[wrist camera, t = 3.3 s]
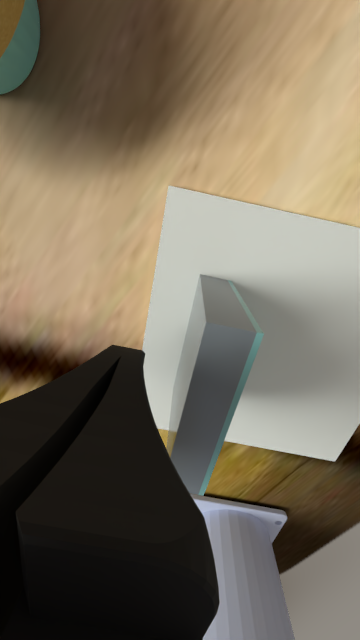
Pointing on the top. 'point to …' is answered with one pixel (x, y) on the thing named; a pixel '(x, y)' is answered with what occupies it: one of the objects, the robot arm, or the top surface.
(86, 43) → the top surface
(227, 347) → the tile
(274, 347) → the mat
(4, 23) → the cupcake
